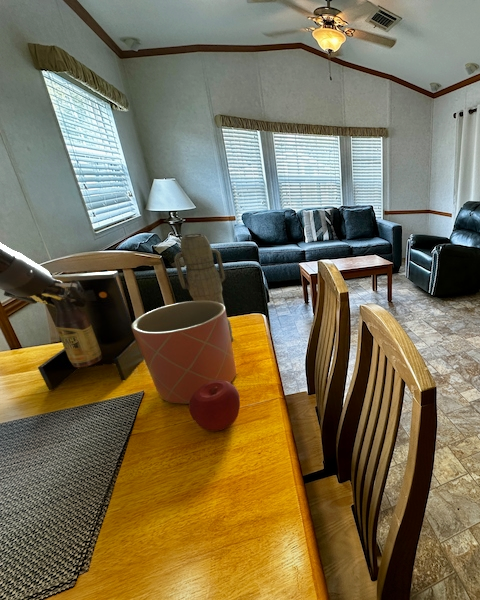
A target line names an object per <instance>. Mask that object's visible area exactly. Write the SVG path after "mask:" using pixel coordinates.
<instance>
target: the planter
mask: <svg viewBox="0 0 480 600" xmlns="http://www.w3.org/2000/svg"><path fill="white" fill-rule="evenodd" d="M224 306H225V304H224V305H223V304H221V303H218V302H214V301H194V300H191V301H190V300H189V301H182V302H177V303H173V304H169V305H164V306H161V307H158V308H156V309H153V310H151V311H148V312H146V313H143V314H142V315H140V316H139V317H136V319H135V320H134V321H133V322H132V330H133V333H134V335H135V338H136V340H137V343H138V345H139V348H140V350H141V353H142V356H143V358H144V360H143V361H144V363H145V365H146V368H147V370H148V372H149V375H150V378H151V380H152V383H153V385H154V387H155V390H156V392H157V394H158V396H159V397H160V399H162V400H163V401H166V402H169V403H173V404H184V405H185V404H186V405H187V404H188V405H189V402H190V399H191V397H192V395H193V394H194V393H195V392H196V391H197V390H198V389H199V388H200V387H201V386H203V385H204V384H206V383H208V382H211V381H215V380H223V381H227V382H229V383H232V382H233V380H234V379H235V377H237V366H236V361H235V355H234V354H235V353H234V350H233V342H231V337H230V331H229V326H228V321H227V318H228V316H226V315H227V311H226V306H225V307H224Z"/></svg>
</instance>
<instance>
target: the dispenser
mask: <svg viewBox="0 0 480 600" xmlns="http://www.w3.org/2000/svg"><path fill="white" fill-rule="evenodd" d="M50 275H51V276H52V278H53V279H56V280H59V281H61V282H62V283H71V281H72V280H75V281H78V282H79V283H80V285H81V286H82V288H83V289H84V294H83V298H85V299H86V304H85V306H84V307H79V306H77V307H78V309H79V310H81V311H82V312H84V313H85V314H86V315H87V317H88V320H89V322H90V324H91V326H92V329H93V332H94V334H95V337H96V340H97V342H98V345H99V348H100V351H101V355H102V359H101V360H100V361H98V362H97V363H95V364H92V365H89V366H87V367H74V366H73V365H72V363H71V362H70V360H69V358H68V355H67V353H66V351H65V348H64V347H63V348H62V349H61V350H60V351H58V352H57V353H55V354H54V355H53V356H51V357H50V358H49V359H48V360H46V361H44V362H43V363H42V364H40V365H39V366H38V367H37V370H38V372H39V374H40V375H41V378H42V379H43V381H44V384H45V385H46V387H47V389H48V391H54V390H56V388H58V387H59V386H60V385H61V384H62V383H63V382H65V381H66V380H67V379H68V378H69V377H71V376H72V375H73V374H74V373H76V371H78V370H79V369H87V368H94V367H102V366H110V365H111V366H112V365H114V366H115V369H116V372H117V374H118V376H119V379H120V381H121V382H125V381H127V379H128V378H129V377H131V375H132V374H133V373H134V371H135V370H136V369H137V368H138V367H139V366H140V365H141V364H142V363H143V361H145V360H144V358H143V356H142V353H141V350H140V348H139V345H138V343H137V340H136V338H135V335H134V333H133V330H132V324H133V322H132V320H131V316H130V314H129V311H128V309H127V306H126V302H125V300H124V297H123V293H122V291H121V287H120V285H119V282H118V279H117V277H118V276H120V274H119V272H118V270H114V271H100V272H99V271H98V272H97V271H96V272H81V273H69V274H68V273H67V274H53V275H52V274H50ZM45 306H46V309H47V311H48V313H49V315H50V318H51V320H52V322H53V325H54V327H55V328H56V315H57V311H56V308H55V307H53V306H51V305H49V304H45Z"/></svg>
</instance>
